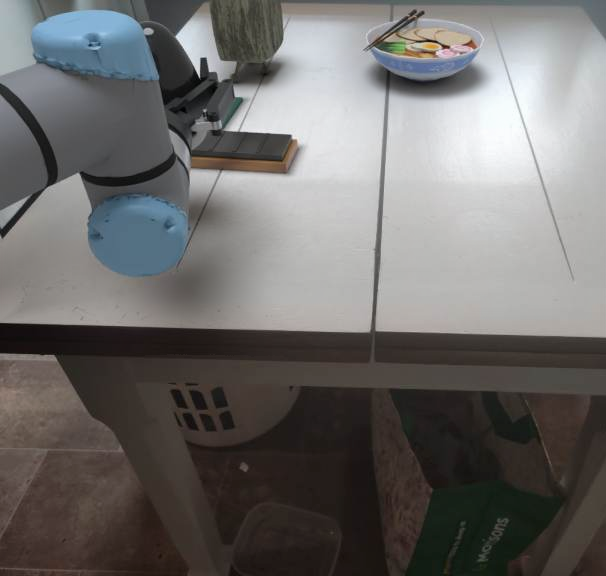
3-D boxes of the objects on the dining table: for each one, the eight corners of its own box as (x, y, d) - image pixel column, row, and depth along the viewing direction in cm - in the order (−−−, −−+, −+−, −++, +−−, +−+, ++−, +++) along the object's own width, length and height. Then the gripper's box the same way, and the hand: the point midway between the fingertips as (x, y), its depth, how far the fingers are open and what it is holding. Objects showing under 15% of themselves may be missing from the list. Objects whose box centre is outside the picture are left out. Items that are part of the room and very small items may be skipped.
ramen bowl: (452, 110, 109) (455, 64, 104) (341, 86, 117) (339, 42, 111) (498, 64, 126) (503, 23, 121) (398, 46, 134) (399, 7, 128)
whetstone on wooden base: (183, 167, 93) (179, 150, 91) (201, 142, 99) (198, 126, 97) (286, 173, 92) (284, 156, 90) (298, 148, 98) (296, 132, 96)
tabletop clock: (246, 58, 128) (227, -79, 111) (288, 61, 127) (275, -77, 110) (222, 86, 117) (197, -62, 101) (268, 89, 116) (250, -60, 100)
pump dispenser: (137, 131, 81) (103, 10, 71) (216, 125, 83) (194, 6, 73) (127, 169, 74) (87, 40, 64) (215, 161, 75) (189, 34, 65)
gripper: (43, 201, 60) (79, 107, 77) (269, 178, 64) (257, 93, 80) (13, 131, 55) (58, 46, 72) (260, 110, 59) (249, 34, 76)
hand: (163, 71), depth 76 cm, fingers closed on pump dispenser, 9 cm apart
